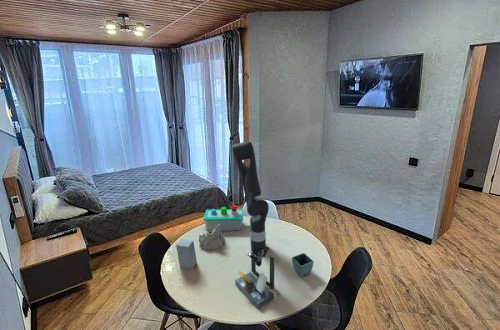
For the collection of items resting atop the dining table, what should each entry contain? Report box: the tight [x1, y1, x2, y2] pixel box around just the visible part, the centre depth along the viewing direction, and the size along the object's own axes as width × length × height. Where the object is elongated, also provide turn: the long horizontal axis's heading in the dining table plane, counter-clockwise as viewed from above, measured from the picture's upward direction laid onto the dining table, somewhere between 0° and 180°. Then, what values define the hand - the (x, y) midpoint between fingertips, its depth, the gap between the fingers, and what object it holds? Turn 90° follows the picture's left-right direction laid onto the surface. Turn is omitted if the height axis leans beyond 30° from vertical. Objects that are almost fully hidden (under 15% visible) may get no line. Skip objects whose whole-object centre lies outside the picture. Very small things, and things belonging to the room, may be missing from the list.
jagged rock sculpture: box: [198, 224, 225, 250], centre depth 177 cm, size 16×16×15 cm
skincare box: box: [175, 238, 198, 270], centre depth 155 cm, size 8×7×16 cm
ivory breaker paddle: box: [256, 272, 268, 293], centre depth 132 cm, size 2×4×8 cm, turn 37°
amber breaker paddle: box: [237, 270, 252, 283], centre depth 137 cm, size 2×4×8 cm
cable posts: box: [250, 245, 276, 290], centre depth 143 cm, size 2×18×18 cm, turn 36°
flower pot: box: [291, 252, 315, 277], centre depth 148 cm, size 9×9×9 cm
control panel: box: [202, 205, 246, 232], centre depth 197 cm, size 15×16×30 cm
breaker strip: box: [234, 271, 275, 310], centre depth 136 cm, size 10×20×5 cm, turn 36°
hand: (258, 265), depth 141 cm, fingers closed
